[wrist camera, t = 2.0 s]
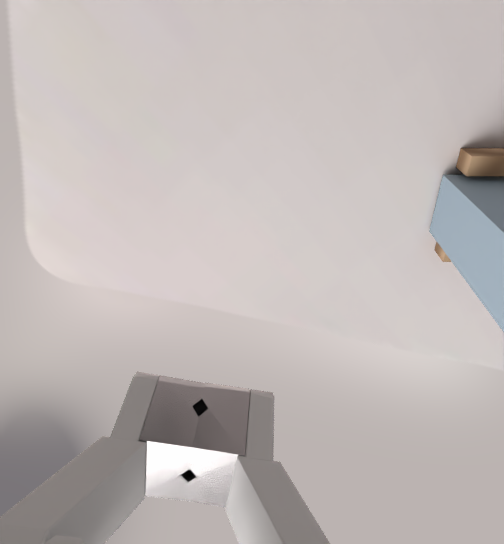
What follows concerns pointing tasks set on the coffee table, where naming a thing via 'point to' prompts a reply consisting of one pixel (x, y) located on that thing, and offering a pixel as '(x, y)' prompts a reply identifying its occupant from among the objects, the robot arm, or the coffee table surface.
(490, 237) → the block
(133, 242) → the coffee table surface
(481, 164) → the brown flat open frame
